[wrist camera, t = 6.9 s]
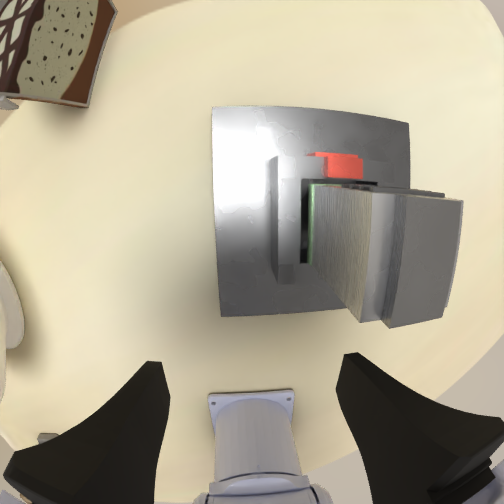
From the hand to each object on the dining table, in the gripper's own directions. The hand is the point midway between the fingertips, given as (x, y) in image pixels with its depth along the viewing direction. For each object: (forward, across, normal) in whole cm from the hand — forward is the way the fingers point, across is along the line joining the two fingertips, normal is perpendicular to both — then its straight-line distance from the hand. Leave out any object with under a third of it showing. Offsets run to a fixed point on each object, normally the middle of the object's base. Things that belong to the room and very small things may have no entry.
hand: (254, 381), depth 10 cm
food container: (+11, +14, -19) cm, 26 cm away
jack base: (+10, -5, -5) cm, 13 cm away
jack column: (+5, -5, -5) cm, 9 cm away
